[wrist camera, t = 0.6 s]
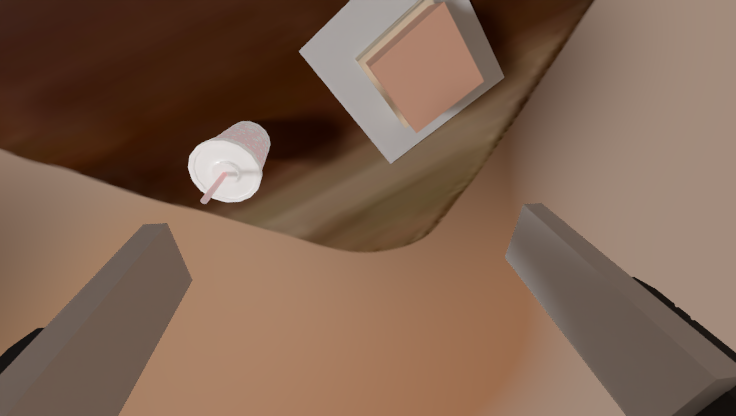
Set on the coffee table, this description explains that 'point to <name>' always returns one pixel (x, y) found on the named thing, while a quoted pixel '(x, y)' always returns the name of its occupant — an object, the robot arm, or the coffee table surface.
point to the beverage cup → (230, 163)
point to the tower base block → (382, 40)
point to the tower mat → (356, 91)
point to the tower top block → (426, 67)
